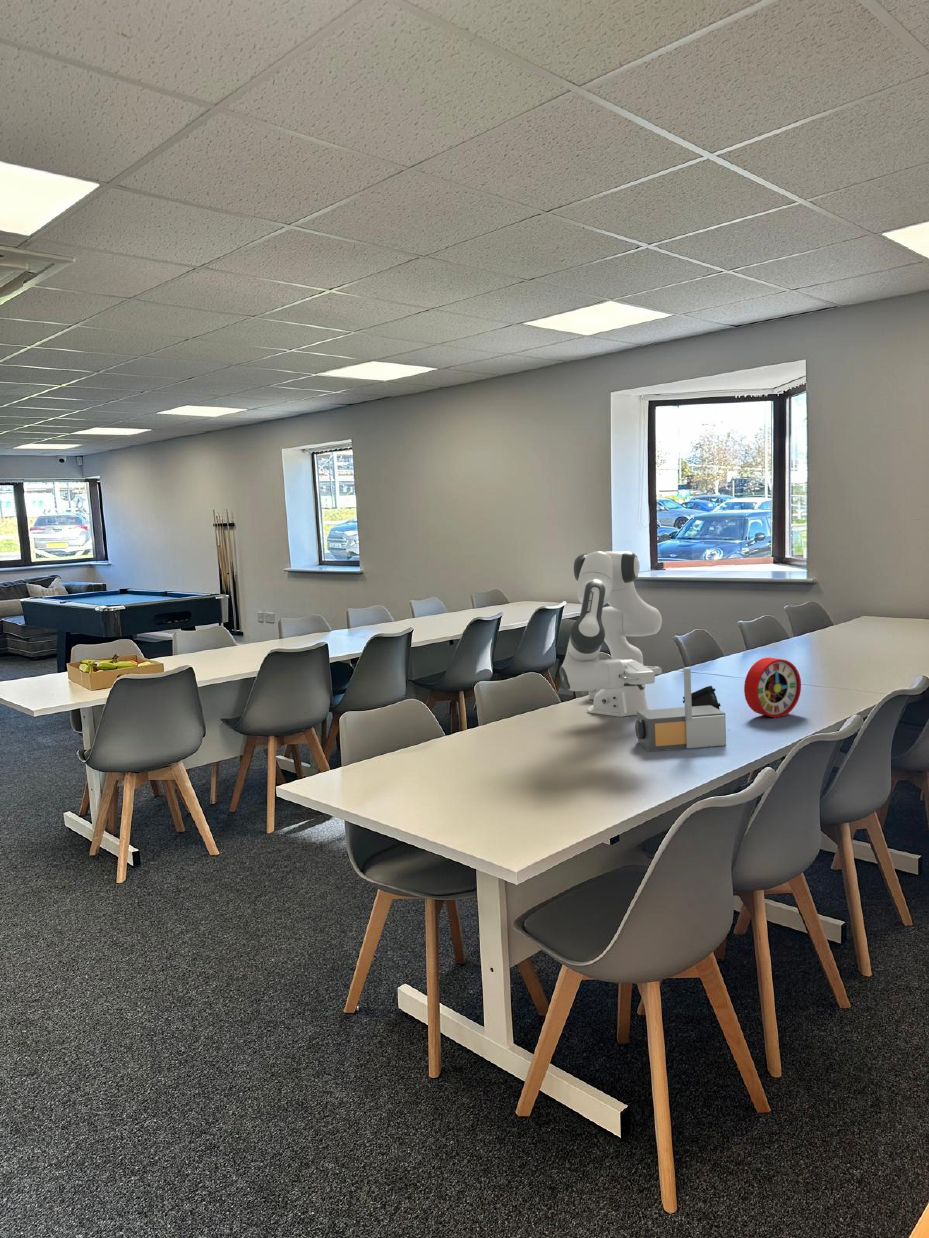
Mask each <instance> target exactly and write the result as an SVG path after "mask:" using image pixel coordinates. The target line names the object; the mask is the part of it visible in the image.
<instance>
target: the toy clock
mask: <svg viewBox="0 0 929 1238" xmlns="http://www.w3.org/2000/svg"><path fill="white" fill-rule="evenodd" d="M743 685H744V687H743V692H744V693H743V694H744V698H745V701H746V703H747V705H748V707H749V708H750V709H751V711H753V712H754V713H756V714H759V715H762V716H767V717H770V718H776V717H777V718H781V717H780V716H782V717H785V716H786V715H788V714H789V713H791V711H793V709H795V707H796V706H797V704H798V701H799V699H800V696H801V693H802V692H801V691H802V679H801V676H800V672H799V671H798V669H797V667H796V666H795V664H793V663H792V662H790V661H789V660H786V659H782V658H776V657H763V658H760V659H759V660H757V661H755V663H753V665H752V666H751V667H750V669H748V672H747V674H746V677H745V680H744V683H743Z"/></svg>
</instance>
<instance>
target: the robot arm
mask: <svg viewBox="0 0 929 1238" xmlns="http://www.w3.org/2000/svg"><path fill="white" fill-rule="evenodd" d="M572 570H573V571H572V572H573V574H574V575H573V576H574V578H575V580H576V581H577V584H576V597H577V600H578V601H579V603H580V604H581V609H580V614H579V617H577V619H576V620H575V621H574V622H573V624H572V626H571V628H570V633H569V634H570V635H569V638H568V643H567V649H566V654H565V657H564V659H563V663H562V665H561V666H560V667H559V677H560V681H561V684H562V686H563V687H564V688H565V689H566V690H568V691H572V692H589V691H592V690H595V689H601V690H600V691H599V692H598V693H597V694H596V695H595V697H594V700H593V704H592V705H591V706H589V707H588V708H587V713H590V714H597V715H605V716H612V717H618V718H620V717H629V716H637V711H642V710H650V708H649V704H648V701H647V696H646V690H645V688H646V685H651V684H655V682H656V675H661V674H662V673H663V670H662V669H663V668H661V667H660V666H653V665H652V666H649V665H644V657H643V656H644V655H643V652H642V651H641V650H640V648H638V647H636V646H635V645H632V644H631V643H630V642H628V640H627V637H647V636H651V635H656V634H658V632H659V631H660V630H661V628H662V625H663V617H662V614H661V613H660V611H659V610H658V608H657V607H654V606H652V605H650V604H649V603H647V602H646V601H645V600H644V599H642V598H641V596H640V595H639V593H638V592H637V590H636V587H635V583H634V581H635V580H637V578H638V576H639V573H640V561H639V558H638V556H637V555H636V554H635V553H634V552H632V551H628V550H624V551H618V550H617V551H615V550H614V551H613V550H610V551H609V550H608V551H606V550H605V551H597V550H596V551H593V552H591V553H590V552H589V553H588V552H586V553H582V554H580V555H578V556H577V557H576V558H575V559H574V562H573V569H572ZM607 604H608V605H609V606H605V605H607ZM603 642H605V644H606V645H607V646H608V650H609V652H610V657H611V658H606V659H600V657H599V656H600V655H599V654H600V651H601V648H602V645H603V644H604V643H603Z"/></svg>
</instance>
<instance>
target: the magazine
mask: <svg viewBox="0 0 929 1238" xmlns="http://www.w3.org/2000/svg"><path fill="white" fill-rule="evenodd" d="M715 691H716V687H715V688H713V686H712V685H708V686H704V687H703V688H701V689H698V690H696V691H694V692H691V702H692V707H693V706H706V705H711V706H713V707H715V708H717V709H719V710H720V711H721V709H720V707H721V706H722V705H721V703H719V702H718V699H717V698H718V697H717V695H716V693H715ZM682 698H683V700H682V703H683V704H685V698H684V696H683V697H682Z"/></svg>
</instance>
